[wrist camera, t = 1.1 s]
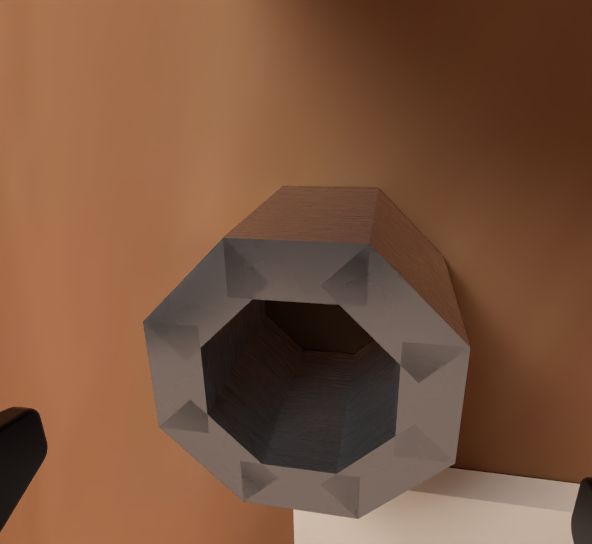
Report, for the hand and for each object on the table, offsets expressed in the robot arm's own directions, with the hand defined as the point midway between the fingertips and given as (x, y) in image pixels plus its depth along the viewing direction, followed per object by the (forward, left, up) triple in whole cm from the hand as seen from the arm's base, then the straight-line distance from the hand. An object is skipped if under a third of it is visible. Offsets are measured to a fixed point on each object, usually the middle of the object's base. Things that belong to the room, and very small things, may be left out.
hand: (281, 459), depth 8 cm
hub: (0, 0, -7) cm, 7 cm away
